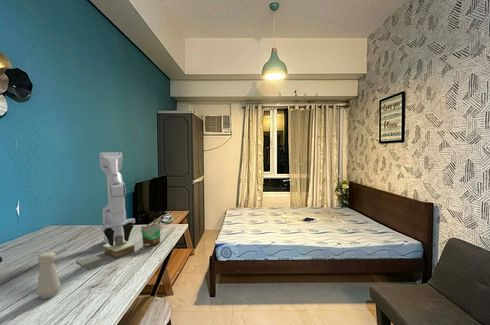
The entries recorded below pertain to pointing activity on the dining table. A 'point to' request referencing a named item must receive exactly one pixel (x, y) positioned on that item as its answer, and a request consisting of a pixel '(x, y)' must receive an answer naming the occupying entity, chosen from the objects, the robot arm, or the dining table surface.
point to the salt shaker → (47, 276)
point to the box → (119, 252)
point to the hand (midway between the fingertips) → (119, 243)
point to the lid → (119, 244)
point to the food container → (151, 234)
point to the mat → (95, 261)
